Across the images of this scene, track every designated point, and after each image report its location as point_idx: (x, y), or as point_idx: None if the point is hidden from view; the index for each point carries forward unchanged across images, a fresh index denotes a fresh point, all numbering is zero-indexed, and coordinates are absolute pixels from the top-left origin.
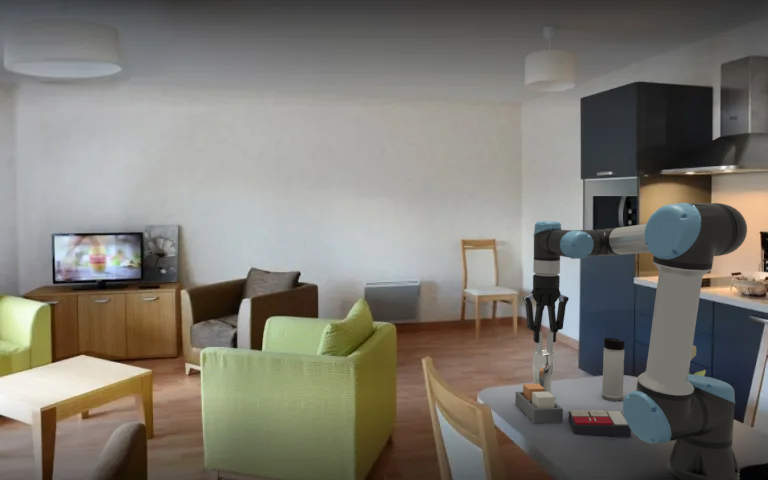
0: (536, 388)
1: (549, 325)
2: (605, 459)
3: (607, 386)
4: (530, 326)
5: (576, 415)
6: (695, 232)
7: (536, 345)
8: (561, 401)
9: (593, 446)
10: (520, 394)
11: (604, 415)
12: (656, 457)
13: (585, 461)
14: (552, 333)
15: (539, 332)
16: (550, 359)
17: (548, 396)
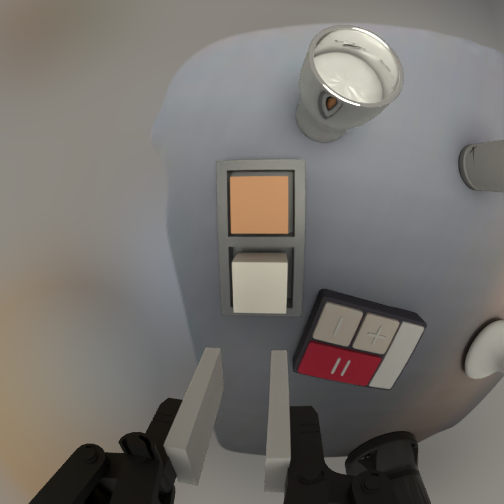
0: (260, 227)
1: (285, 498)
2: None
3: (481, 176)
4: (96, 493)
5: (321, 338)
6: None
7: (195, 373)
8: (361, 159)
9: (298, 403)
10: (223, 187)
11: (378, 350)
12: (366, 429)
13: (257, 435)
14: (278, 486)
15: (176, 475)
16: (371, 114)
17: (268, 307)
